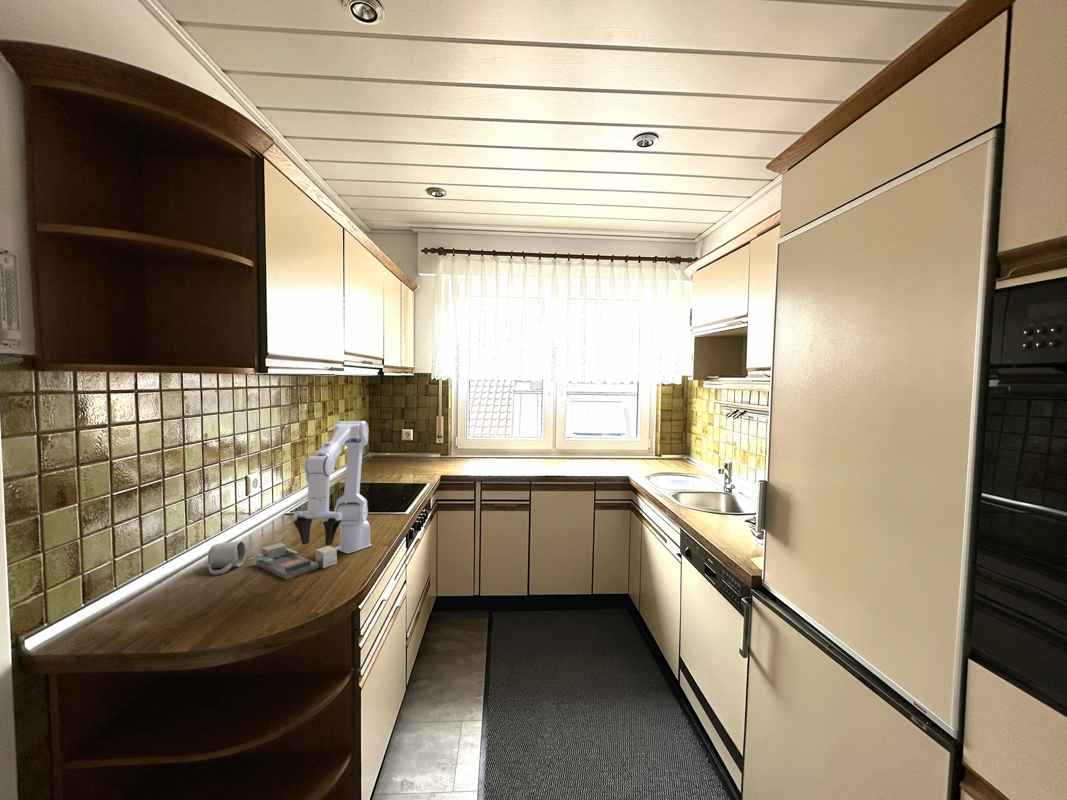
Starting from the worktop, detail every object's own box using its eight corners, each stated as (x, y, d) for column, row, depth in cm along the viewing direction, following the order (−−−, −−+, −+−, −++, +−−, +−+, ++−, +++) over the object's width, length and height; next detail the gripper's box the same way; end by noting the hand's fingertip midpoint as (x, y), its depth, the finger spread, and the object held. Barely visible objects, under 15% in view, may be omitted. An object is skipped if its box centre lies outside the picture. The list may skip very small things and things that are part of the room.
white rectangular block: (328, 561, 149) (328, 545, 149) (336, 564, 146) (336, 548, 146) (315, 565, 145) (315, 549, 145) (323, 568, 143) (323, 552, 143)
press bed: (286, 554, 154) (286, 546, 154) (318, 568, 143) (318, 558, 143) (254, 564, 146) (253, 555, 146) (286, 579, 135) (286, 569, 135)
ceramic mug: (218, 562, 147) (217, 539, 147) (246, 560, 149) (245, 537, 149) (201, 577, 137) (200, 551, 136) (232, 574, 139) (231, 549, 138)
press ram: (280, 551, 152) (280, 542, 152) (287, 554, 150) (286, 545, 150) (261, 557, 147) (261, 548, 147) (267, 560, 145) (267, 550, 145)
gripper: (286, 498, 133) (285, 546, 132) (332, 500, 130) (331, 549, 130) (303, 494, 140) (302, 540, 139) (347, 496, 137) (345, 542, 137)
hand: (317, 544), depth 135 cm, fingers open, 7 cm apart
